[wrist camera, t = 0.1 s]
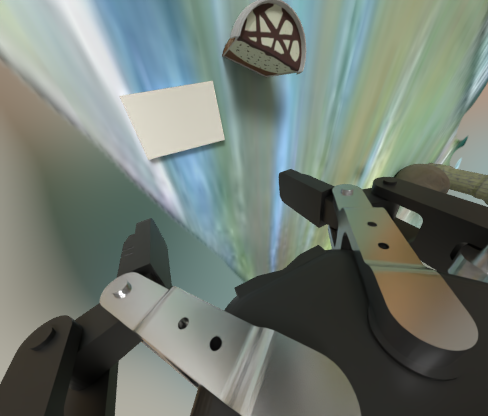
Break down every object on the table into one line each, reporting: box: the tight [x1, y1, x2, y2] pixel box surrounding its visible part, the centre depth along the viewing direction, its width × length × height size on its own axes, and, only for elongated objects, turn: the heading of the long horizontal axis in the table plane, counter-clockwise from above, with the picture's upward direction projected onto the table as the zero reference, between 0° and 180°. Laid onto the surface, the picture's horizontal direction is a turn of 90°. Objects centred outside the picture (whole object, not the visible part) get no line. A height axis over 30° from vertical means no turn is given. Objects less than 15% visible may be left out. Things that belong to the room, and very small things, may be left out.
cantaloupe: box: [396, 164, 450, 194], centre depth 67 cm, size 14×14×15 cm
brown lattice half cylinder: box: [222, 0, 306, 77], centre depth 29 cm, size 12×6×10 cm, turn 74°
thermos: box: [429, 163, 488, 205], centre depth 66 cm, size 9×12×35 cm
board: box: [120, 81, 225, 160], centre depth 33 cm, size 10×15×1 cm, turn 100°
